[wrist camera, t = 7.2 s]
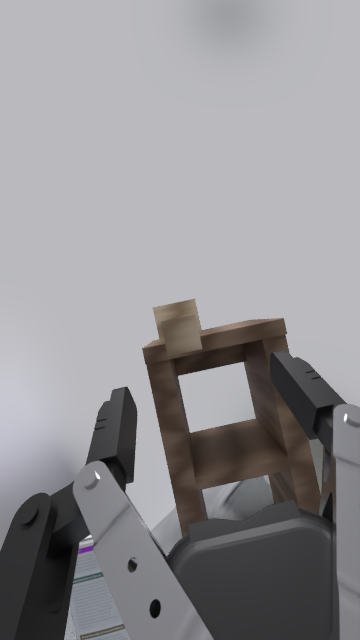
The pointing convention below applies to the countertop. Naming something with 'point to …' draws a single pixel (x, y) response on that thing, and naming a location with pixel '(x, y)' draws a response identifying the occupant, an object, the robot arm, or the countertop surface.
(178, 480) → the shelf
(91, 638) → the syrup box
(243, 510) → the countertop surface
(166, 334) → the mallet
